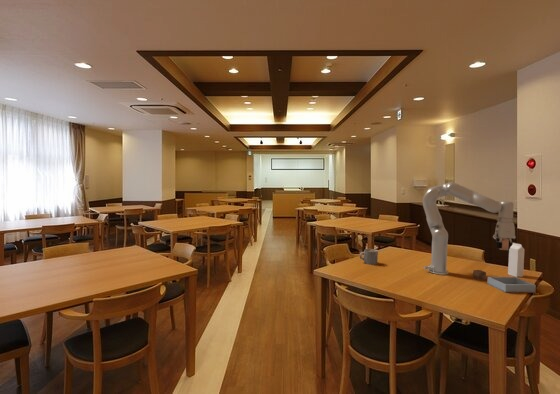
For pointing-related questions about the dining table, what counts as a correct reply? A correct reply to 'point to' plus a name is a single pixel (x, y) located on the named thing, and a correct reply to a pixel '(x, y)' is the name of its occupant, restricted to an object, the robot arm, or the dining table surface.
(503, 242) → the terracotta cylinder
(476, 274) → the walnut cube
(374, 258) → the coffee mug
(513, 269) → the milk
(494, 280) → the tray
